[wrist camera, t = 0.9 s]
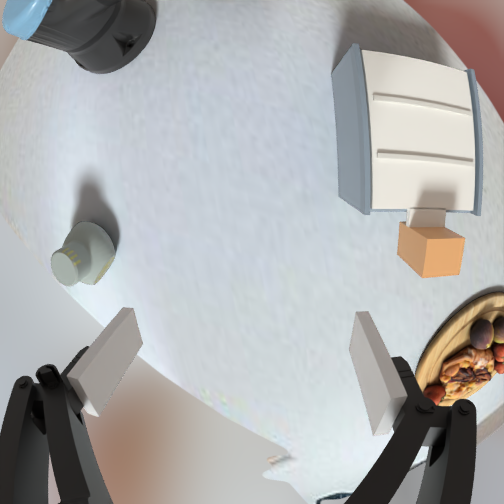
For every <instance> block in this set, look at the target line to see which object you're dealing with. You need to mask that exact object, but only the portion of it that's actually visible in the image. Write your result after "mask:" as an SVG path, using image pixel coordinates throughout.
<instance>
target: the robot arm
mask: <svg viewBox="0 0 504 504" xmlns="http://www.w3.org/2000/svg"><path fill="white" fill-rule="evenodd" d="M2 23H3V27H4V29H5V31H6V32H7V33H9V34H12V35H15V36H17V37H20V39H22V40H28V41H32V42H35V43H39V44H43V45H46V46H49V47H53V48H56V49H59V50H63V51H65V52H68V54H69V55H70V56H71V57H72V58H73V59H74V60H75V61H76V63H77V64H78V65H79V66H80V67H81V68H83V69H84V70H87V71H90V72H93V73H97V74H105V73H110V72H113V71H116V70H118V69H120V68H122V67H124V66H125V65H127V64H128V63H130V62H131V61H132V60H133V59H134V58H136V57H137V56H138V55H139V54H140V52H141V51H142V50H143V49H144V48H145V46H146V45H147V43H148V42H149V40H150V38H151V36H152V33H153V30H154V27H155V14H154V11H153V9H152V8H151V6H150V5H149V4H148V3H147V2H146V1H145V0H7V3H6V6H5V9H4V12H3V19H2ZM142 345H143V342H142V338H141V335H140V331H139V328H138V324H137V320H136V316H135V313H134V309H133V308H125V307H123V308H122V309H121V310H120V311H119V313H118V314H117V315H116V316H115V317H114V318H113V320H112V321H111V322H110V323H109V324H108V325H107V327H106V328H105V329H104V330H103V331H102V333H101V334H100V335H99V336H98V338H97V339H96V340H95V341H94V342H93V343H92V345H91V346H90V347H89V346H86V347H85V348H83V349H82V350H80V351H79V353H78V354H77V355H76V356H75V358H74V359H73V360H72V362H70V363H69V365H68V366H67V367H66V369H65V370H64V371H63V372H62V373H61V375H60V374H59V372H58V370H57V368H56V367H55V366H54V365H51V364H47V365H44V366H42V367H40V368H39V369H38V370H37V372H36V377H37V379H38V381H39V382H40V383H39V384H38V383H34V382H33V380H32V378H31V377H29V376H22V377H20V378H19V379H17V380H16V382H15V384H14V387H13V390H12V393H11V396H10V399H9V402H8V406H7V410H6V413H5V417H4V421H3V425H2V429H1V433H0V504H48V467H49V452H50V457H51V462H52V467H53V472H54V476H55V480H56V484H57V488H58V492H59V495H60V499H61V502H60V503H58V504H113V502H112V500H111V498H110V495H109V492H108V490H107V488H106V485H105V483H104V480H103V478H102V475H101V472H100V469H99V467H98V464H97V461H96V458H95V455H94V452H93V449H92V446H91V442H90V439H89V436H88V432H87V428H86V425H85V421H84V417H83V414H82V412H81V409H82V408H83V406H84V408H85V409H86V411H87V413H88V414H91V415H94V416H98V417H99V416H100V415H101V413H102V411H103V410H104V408H105V406H106V404H107V403H108V401H109V399H110V398H111V396H112V394H113V392H114V391H115V389H116V387H117V386H118V384H119V382H120V381H121V379H122V377H123V376H124V374H125V372H126V371H127V369H128V367H129V366H130V364H131V362H132V361H133V359H134V358H135V356H136V354H137V353H138V351H139V349H140V348H141V346H142ZM349 351H350V355H351V358H352V361H353V364H354V368H355V371H356V374H357V378H358V381H359V385H360V388H361V392H362V395H363V399H364V402H365V406H366V410H367V414H368V417H369V421H370V425H371V429H372V433H373V436H378V435H384V434H389V432H390V430H391V428H392V427H393V430H394V434H393V436H392V437H391V439H390V441H389V442H388V444H387V446H386V447H385V449H384V450H383V452H382V453H381V455H380V456H379V458H378V459H377V461H376V462H375V464H374V465H373V467H372V468H371V470H370V471H369V472H368V474H367V475H366V476H365V478H364V479H363V481H362V482H361V483H360V485H359V486H358V487H357V488H356V490H355V491H354V492H353V493H352V495H351V496H350V497H349V498H348V500H347V501H346V502H345V503H344V504H388V503H389V502H390V500H391V498H392V497H393V496H394V494H395V492H396V491H397V489H398V488H399V486H400V484H401V483H402V481H403V479H404V478H405V476H406V474H407V473H408V471H409V469H410V467H411V465H412V463H413V462H414V460H415V458H416V456H417V454H418V452H419V450H420V448H421V446H429V450H428V456H427V461H426V466H425V471H424V476H423V480H422V484H421V488H420V491H419V495H418V499H417V502H416V504H470V502H471V496H472V488H473V481H474V472H475V459H476V432H477V425H476V408H475V405H474V404H473V403H472V402H471V401H470V400H467V399H458V400H456V401H455V402H454V403H453V405H452V406H438V405H436V404H435V403H434V402H433V400H431V399H429V398H426V397H424V395H423V392H422V390H421V388H420V386H419V384H418V382H417V380H416V378H415V377H414V374H413V372H412V371H411V368H410V366H409V364H408V362H407V361H406V360H404V359H403V358H402V357H401V356H400V357H392V358H391V357H390V355H389V353H388V351H387V348H386V346H385V344H384V342H383V340H382V338H381V336H380V334H379V332H378V330H377V328H376V326H375V324H374V322H373V320H372V318H371V316H370V314H369V312H368V311H365V312H356V313H355V319H354V325H353V331H352V336H351V342H350V347H349Z"/></svg>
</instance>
